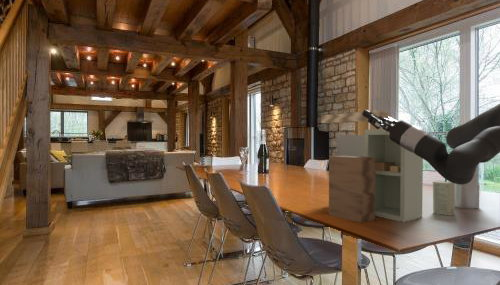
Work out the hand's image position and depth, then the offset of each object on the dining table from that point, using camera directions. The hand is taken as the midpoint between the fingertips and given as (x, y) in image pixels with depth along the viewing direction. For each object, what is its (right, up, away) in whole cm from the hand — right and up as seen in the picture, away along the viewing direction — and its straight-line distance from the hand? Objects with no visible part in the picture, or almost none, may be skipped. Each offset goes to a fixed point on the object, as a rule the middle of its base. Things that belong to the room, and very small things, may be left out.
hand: (367, 112), depth 113 cm
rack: (+12, -37, +9) cm, 40 cm away
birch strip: (-4, -3, +5) cm, 7 cm away
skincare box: (+33, -38, +12) cm, 52 cm away
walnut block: (-4, -37, +6) cm, 38 cm away
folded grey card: (+4, -37, +26) cm, 46 cm away
